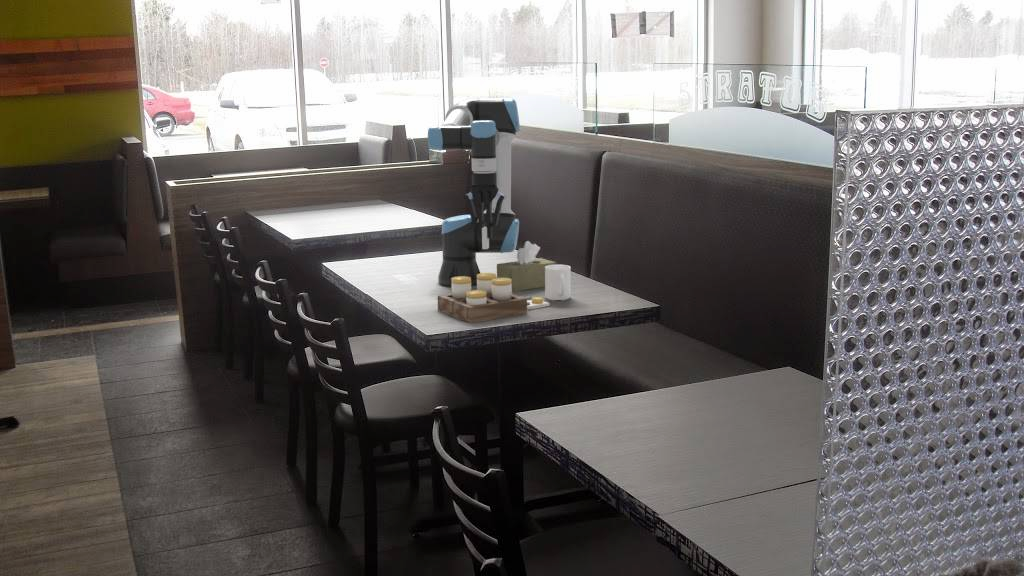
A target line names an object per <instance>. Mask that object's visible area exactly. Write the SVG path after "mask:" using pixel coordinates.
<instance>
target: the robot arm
mask: <svg viewBox="0 0 1024 576" xmlns="http://www.w3.org/2000/svg"><path fill="white" fill-rule="evenodd" d="M519 117H520V116H519V111H518V104H517V101H516V100H515V99H514V98H511V97H489V98H488V97H487V98H486V97H485V98H478V97H477V98H468V99H465V100H462V101H460V102H459V101H458V102H457V103H456V104H454V105H452V106H451V107H450V108H449V109H448V110H447V112H446V114H445V118H444V120H443V122H442V124H440V125H432V126H429V128H428V130H427V145H428V148H429V149H430V150H432V151H439V152H440V151H471V171H472V173H471V188H470V191H469V192H468V193H466V194H464V195H463V199H464V200H465V202H466V204H467V207H468V210H469V214H462V215H456V216H451V217H448V218H446V219H444V220H443V222H442V223H441V239H442V240H441V246H442V249H441V250H442V263H441V266H440V270H439V273H438V276H437V278H438V279H437V280H438V282H437V283H438V284H440V285H441V286H449V287H452V280H451V278H453V277H459V276H466V277H470V278H471V286H475V285H477V274H480V273H481V271H480V268H479V265H478V262H477V253H479V254H481V253H482V254H483V253H484V254H485V253H486V254H487V253H489V254H493V253H494V254H497V253H498V254H499V253H500V254H506V253H513V252H515V250H516V247H517V245H518V240H519V239H518V238H519V232H520V231H519V230H520V220H519V219H518V218H516V213H515V212H513V210H512V209H511V208H512V204H511V203H512V142H513V140H514V139H515V138H516V137H517V135H516V133H518V132H520V131H521V128H520V127H521V126H520V124H521V123H520V118H519ZM473 199H475V201H476V202H477V213H476V209H475V208H476V207H475V205H474V200H473ZM484 206H485V208H484ZM484 209H485V210H484Z"/></svg>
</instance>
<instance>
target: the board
mask: <svg viewBox="0 0 1024 576" xmlns="http://www.w3.org/2000/svg"><path fill="white" fill-rule="evenodd" d="M473 290H474V289H471V291H473ZM523 297H524V296H520V295H517V294H514V293H512V299H511V300H505V301H495V300H492V295H487V296H486V300H487V303H486V304H480V305H473V306H472V305H469V304H467V300H466V299H461V300H458V299H453V298H452V293H446V294H440V295H437V311H439V312H441V313H444V314H446V315H449V316H452V317H454V318H457V319H459V320H462V321H464V322H466V321H467V323H469V324H472V323H473V322H474V323H479V322H486V321H492V320H496V319H497V320H498V319H504V318H507V317H508V318H509V317H514V316H520V315H521V316H522V315H528V310H527V299H526V298H523ZM474 323H473V324H474Z"/></svg>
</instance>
